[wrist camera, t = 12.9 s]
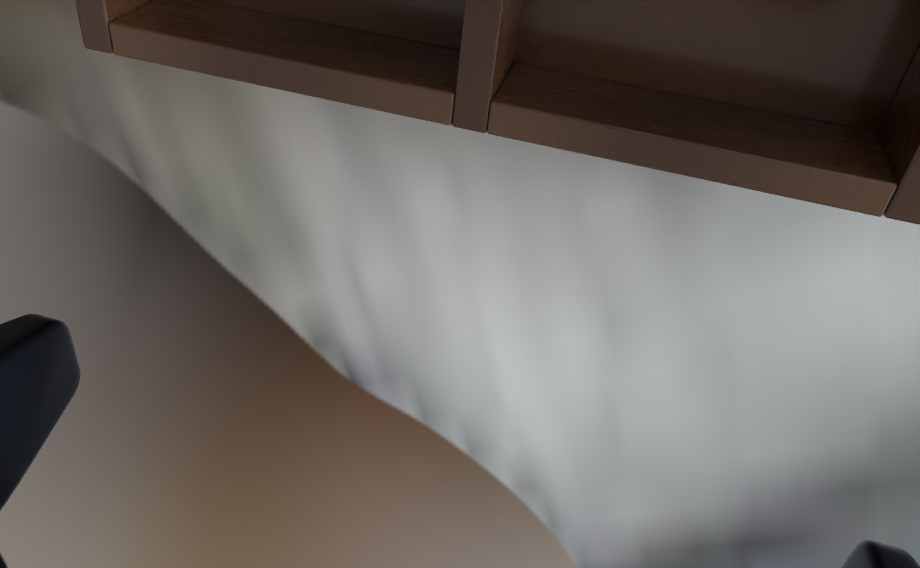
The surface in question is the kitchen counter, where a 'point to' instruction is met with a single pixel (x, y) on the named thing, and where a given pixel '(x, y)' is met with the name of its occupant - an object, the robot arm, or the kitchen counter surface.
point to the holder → (591, 77)
